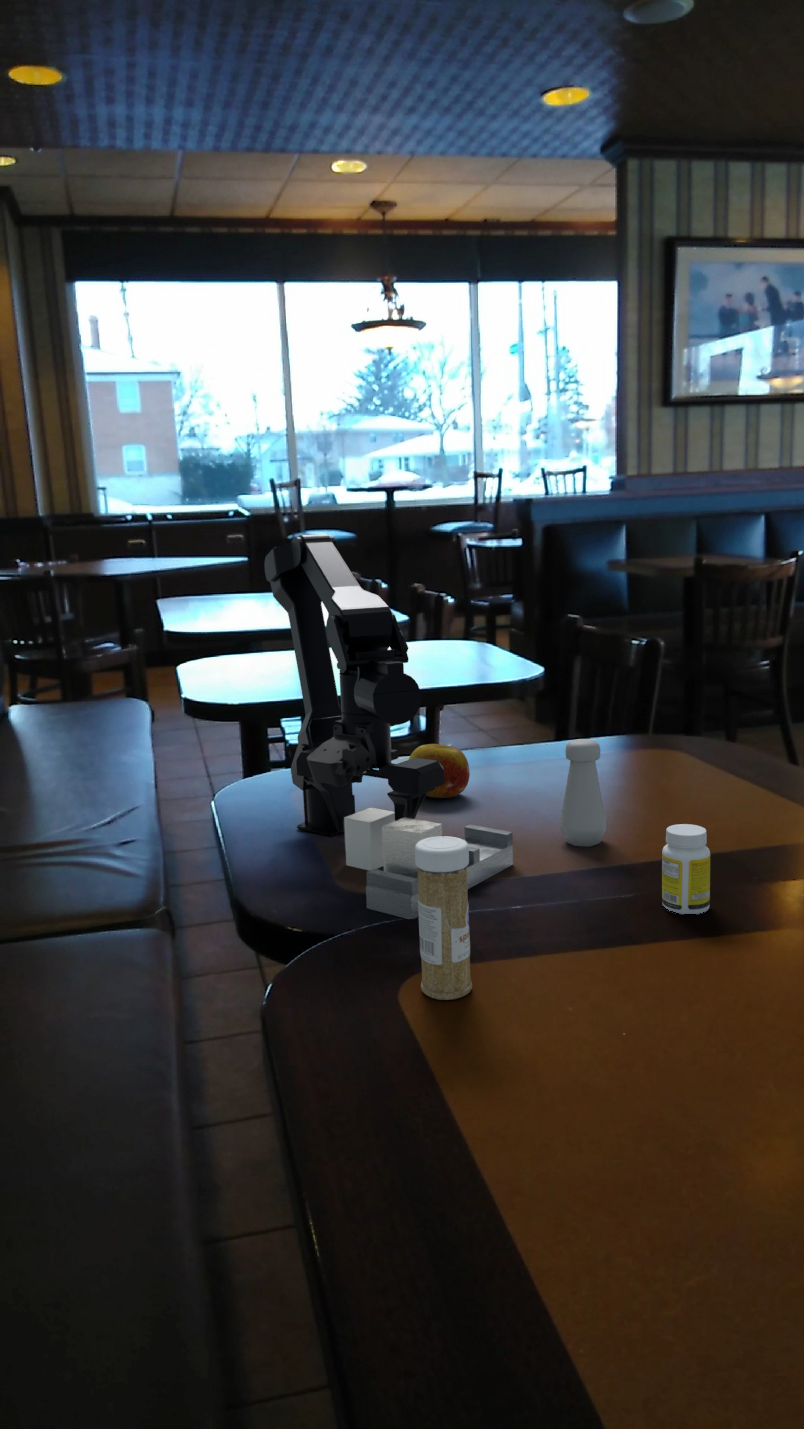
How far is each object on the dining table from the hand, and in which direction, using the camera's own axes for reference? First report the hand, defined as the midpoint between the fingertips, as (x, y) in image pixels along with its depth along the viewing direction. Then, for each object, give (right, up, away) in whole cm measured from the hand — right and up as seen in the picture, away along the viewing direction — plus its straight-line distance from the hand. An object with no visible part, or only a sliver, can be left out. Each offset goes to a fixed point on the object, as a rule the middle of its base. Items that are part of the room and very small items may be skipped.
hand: (370, 837), depth 121 cm
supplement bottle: (+33, -5, -17) cm, 38 cm away
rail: (+8, -4, -8) cm, 13 cm away
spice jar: (+8, -9, -34) cm, 36 cm away
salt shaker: (+27, -1, +5) cm, 27 cm away
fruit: (+9, +2, +28) cm, 30 cm away
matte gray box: (0, -3, +1) cm, 3 cm away
